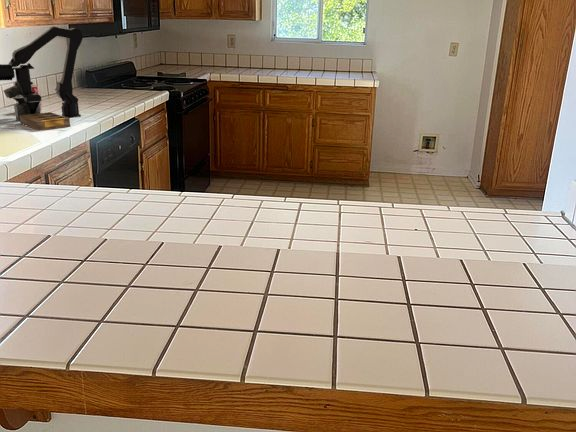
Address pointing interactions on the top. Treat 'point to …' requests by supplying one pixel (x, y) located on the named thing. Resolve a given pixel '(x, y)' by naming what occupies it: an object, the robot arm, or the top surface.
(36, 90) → the soda can
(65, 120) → the rack
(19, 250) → the top surface
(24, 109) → the block
